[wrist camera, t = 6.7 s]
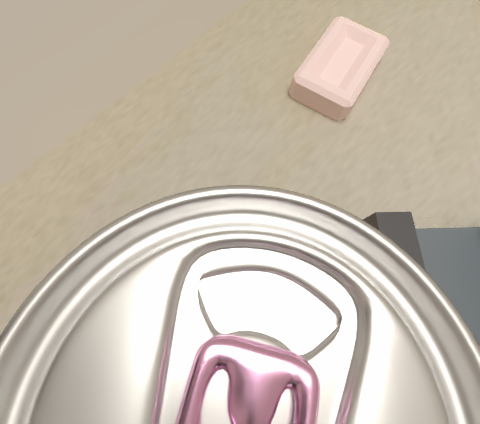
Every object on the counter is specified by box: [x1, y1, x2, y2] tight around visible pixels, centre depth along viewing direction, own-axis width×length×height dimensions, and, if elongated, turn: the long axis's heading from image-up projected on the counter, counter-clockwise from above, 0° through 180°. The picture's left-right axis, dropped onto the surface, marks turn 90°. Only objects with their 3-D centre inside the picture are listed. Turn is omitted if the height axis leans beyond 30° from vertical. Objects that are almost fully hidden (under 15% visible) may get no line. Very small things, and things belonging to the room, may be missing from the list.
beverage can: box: [0, 185, 480, 424], centre depth 10 cm, size 6×6×15 cm
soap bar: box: [289, 16, 390, 121], centre depth 23 cm, size 5×9×2 cm, turn 148°
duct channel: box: [363, 212, 480, 345], centre depth 15 cm, size 12×12×5 cm
